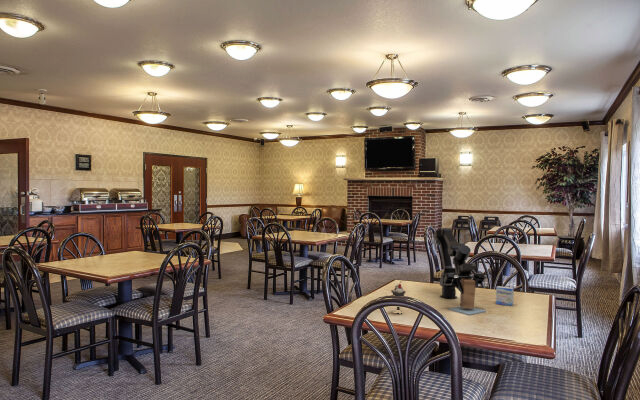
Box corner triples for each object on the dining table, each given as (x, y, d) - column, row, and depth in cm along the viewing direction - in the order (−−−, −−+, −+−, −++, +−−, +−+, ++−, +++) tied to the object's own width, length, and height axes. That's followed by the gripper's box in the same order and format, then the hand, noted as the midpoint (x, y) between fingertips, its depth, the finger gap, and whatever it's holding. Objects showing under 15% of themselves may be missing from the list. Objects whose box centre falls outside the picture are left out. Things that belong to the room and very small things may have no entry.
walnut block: (460, 305, 221) (461, 278, 221) (470, 305, 222) (471, 278, 221) (463, 308, 216) (464, 280, 216) (474, 308, 217) (475, 281, 216)
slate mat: (448, 309, 221) (448, 308, 221) (465, 306, 227) (465, 305, 227) (469, 315, 211) (469, 314, 211) (486, 311, 217) (486, 310, 217)
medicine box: (495, 304, 233) (496, 287, 232) (496, 302, 237) (497, 285, 236) (512, 306, 229) (512, 288, 229) (513, 304, 233) (513, 287, 233)
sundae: (402, 315, 209) (402, 282, 209) (388, 313, 213) (389, 281, 213) (407, 312, 215) (408, 280, 215) (394, 310, 219) (394, 278, 218)
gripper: (446, 256, 222) (453, 284, 211) (484, 256, 223) (493, 284, 212) (440, 270, 230) (447, 297, 219) (477, 270, 231) (486, 297, 220)
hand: (468, 293), depth 218 cm, fingers closed on walnut block, 5 cm apart
